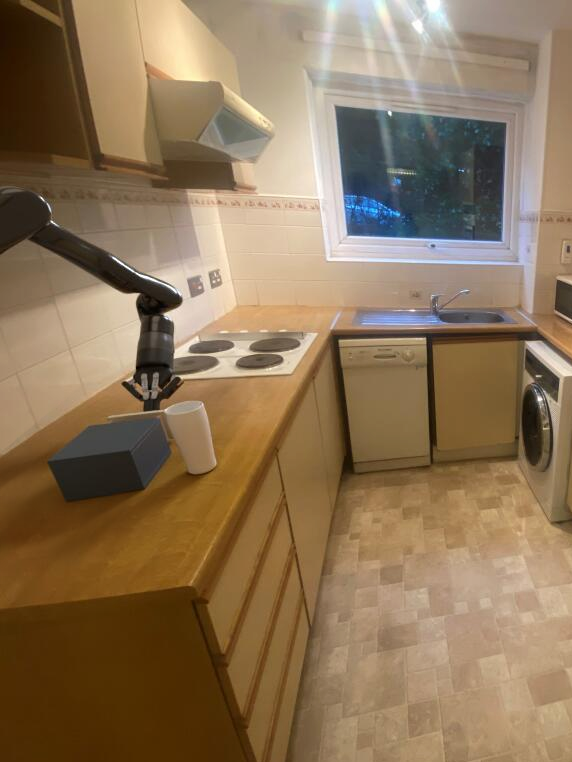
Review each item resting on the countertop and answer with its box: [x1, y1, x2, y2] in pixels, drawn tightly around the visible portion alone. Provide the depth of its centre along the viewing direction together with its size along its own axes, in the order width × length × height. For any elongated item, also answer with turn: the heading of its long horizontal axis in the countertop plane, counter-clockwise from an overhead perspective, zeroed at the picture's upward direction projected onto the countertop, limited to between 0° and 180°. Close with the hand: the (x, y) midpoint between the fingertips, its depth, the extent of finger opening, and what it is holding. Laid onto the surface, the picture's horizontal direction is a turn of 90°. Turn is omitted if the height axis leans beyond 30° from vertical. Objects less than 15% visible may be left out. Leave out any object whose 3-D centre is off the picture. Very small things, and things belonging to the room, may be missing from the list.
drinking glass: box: [164, 400, 218, 475], centre depth 92 cm, size 7×7×15 cm
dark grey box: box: [46, 418, 172, 503], centre depth 91 cm, size 15×13×9 cm
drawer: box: [105, 409, 174, 443], centre depth 99 cm, size 18×12×7 cm, turn 19°
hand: (151, 415), depth 107 cm, fingers closed
